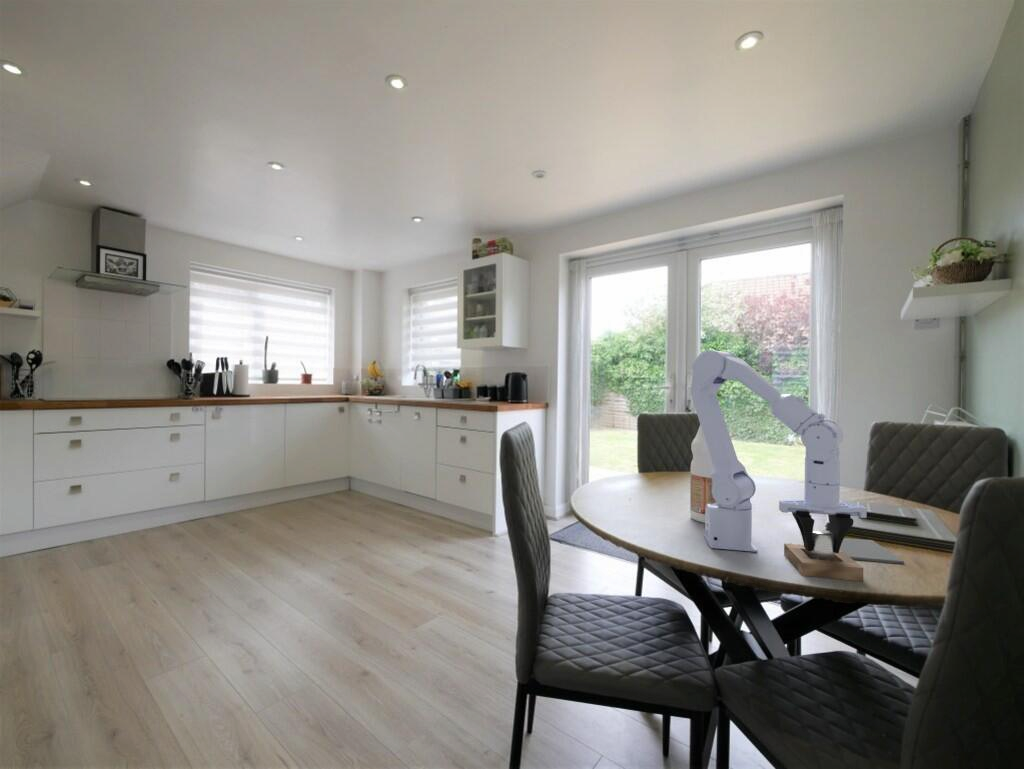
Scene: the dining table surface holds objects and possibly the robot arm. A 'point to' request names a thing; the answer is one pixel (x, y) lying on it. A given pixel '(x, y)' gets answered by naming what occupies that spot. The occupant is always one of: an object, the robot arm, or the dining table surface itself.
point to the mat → (867, 551)
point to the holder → (823, 564)
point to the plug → (822, 545)
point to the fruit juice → (700, 478)
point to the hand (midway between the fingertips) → (821, 550)
